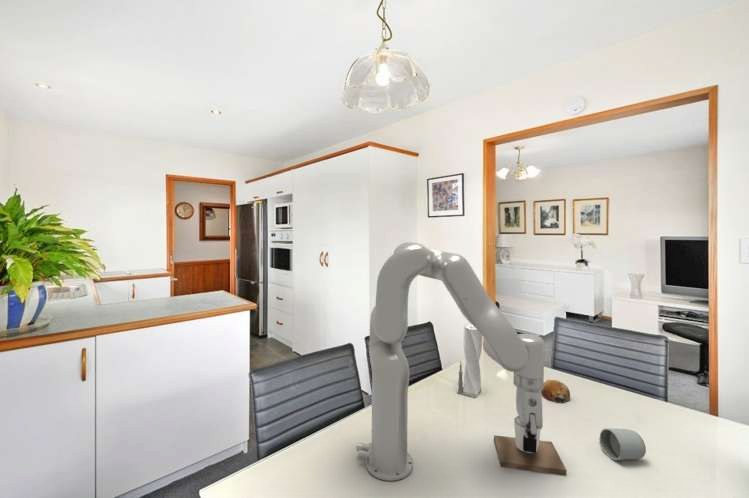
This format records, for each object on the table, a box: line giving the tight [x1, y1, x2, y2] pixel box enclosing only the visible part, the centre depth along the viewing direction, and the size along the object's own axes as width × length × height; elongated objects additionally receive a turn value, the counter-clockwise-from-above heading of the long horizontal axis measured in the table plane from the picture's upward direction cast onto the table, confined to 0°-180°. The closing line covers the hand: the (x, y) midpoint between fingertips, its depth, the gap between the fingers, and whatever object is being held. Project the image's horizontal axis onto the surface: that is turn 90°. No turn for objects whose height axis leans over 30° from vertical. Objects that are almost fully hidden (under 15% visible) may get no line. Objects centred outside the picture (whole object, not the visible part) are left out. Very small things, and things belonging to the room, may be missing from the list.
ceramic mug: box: [598, 428, 647, 461], centre depth 95 cm, size 11×8×8 cm
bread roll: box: [541, 379, 571, 403], centre depth 128 cm, size 10×10×8 cm
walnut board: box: [493, 434, 568, 477], centre depth 93 cm, size 16×12×2 cm
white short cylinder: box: [513, 415, 542, 453], centre depth 93 cm, size 7×7×7 cm
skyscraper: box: [456, 320, 484, 399], centre depth 131 cm, size 8×8×28 cm
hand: (526, 443), depth 93 cm, fingers closed on white short cylinder, 5 cm apart
